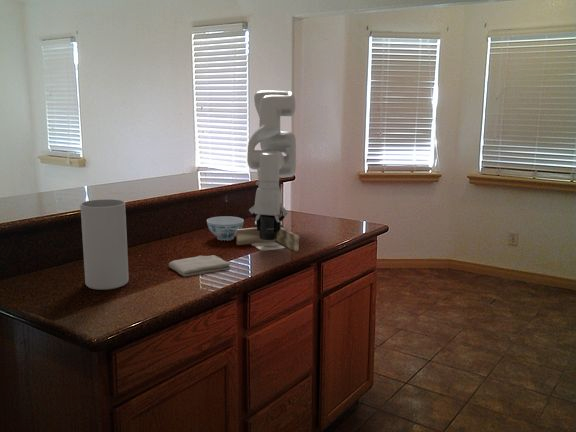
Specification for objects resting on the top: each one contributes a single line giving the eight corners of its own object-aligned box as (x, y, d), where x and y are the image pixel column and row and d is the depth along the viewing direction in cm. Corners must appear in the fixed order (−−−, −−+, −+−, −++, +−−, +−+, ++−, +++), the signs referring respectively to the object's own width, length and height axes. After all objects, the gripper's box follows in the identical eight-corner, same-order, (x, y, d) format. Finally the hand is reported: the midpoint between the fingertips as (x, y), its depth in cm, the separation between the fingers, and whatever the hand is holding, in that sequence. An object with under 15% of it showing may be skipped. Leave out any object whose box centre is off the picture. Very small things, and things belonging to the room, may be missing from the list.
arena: (236, 244, 208) (236, 229, 207) (277, 239, 216) (277, 225, 215) (254, 256, 192) (255, 240, 191) (298, 250, 200) (298, 235, 199)
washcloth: (232, 269, 178) (232, 261, 178) (183, 278, 168) (183, 269, 167) (215, 260, 188) (215, 252, 187) (168, 269, 177) (167, 260, 177)
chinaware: (246, 234, 223) (246, 217, 221) (239, 244, 208) (240, 225, 207) (211, 233, 224) (211, 215, 223) (202, 242, 210) (202, 223, 208)
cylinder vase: (113, 274, 169) (109, 197, 164) (137, 283, 162) (133, 203, 156) (77, 283, 160) (72, 203, 155) (100, 293, 152) (95, 209, 147)
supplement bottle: (269, 241, 200) (269, 210, 198) (255, 238, 204) (255, 208, 202) (280, 238, 205) (281, 208, 203) (267, 235, 209) (267, 205, 207)
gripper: (244, 185, 200) (243, 231, 203) (287, 188, 194) (286, 235, 198) (251, 182, 207) (251, 226, 210) (293, 185, 201) (292, 230, 205)
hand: (268, 230), depth 204 cm, fingers closed on supplement bottle, 6 cm apart
